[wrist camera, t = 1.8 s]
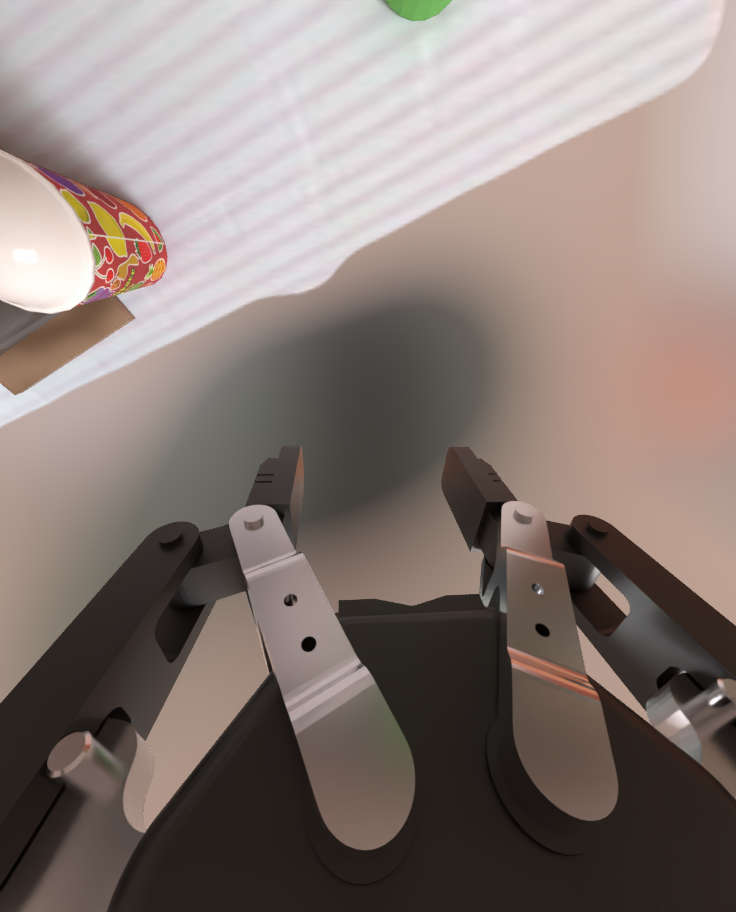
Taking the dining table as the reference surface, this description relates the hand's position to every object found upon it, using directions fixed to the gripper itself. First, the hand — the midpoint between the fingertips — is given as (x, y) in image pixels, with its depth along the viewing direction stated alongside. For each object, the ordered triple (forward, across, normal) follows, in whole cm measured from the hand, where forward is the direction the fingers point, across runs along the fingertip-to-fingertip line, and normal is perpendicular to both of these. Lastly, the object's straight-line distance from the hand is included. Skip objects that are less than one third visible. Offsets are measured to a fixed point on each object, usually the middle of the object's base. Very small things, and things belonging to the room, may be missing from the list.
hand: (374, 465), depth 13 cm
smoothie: (+28, +21, -7) cm, 35 cm away
